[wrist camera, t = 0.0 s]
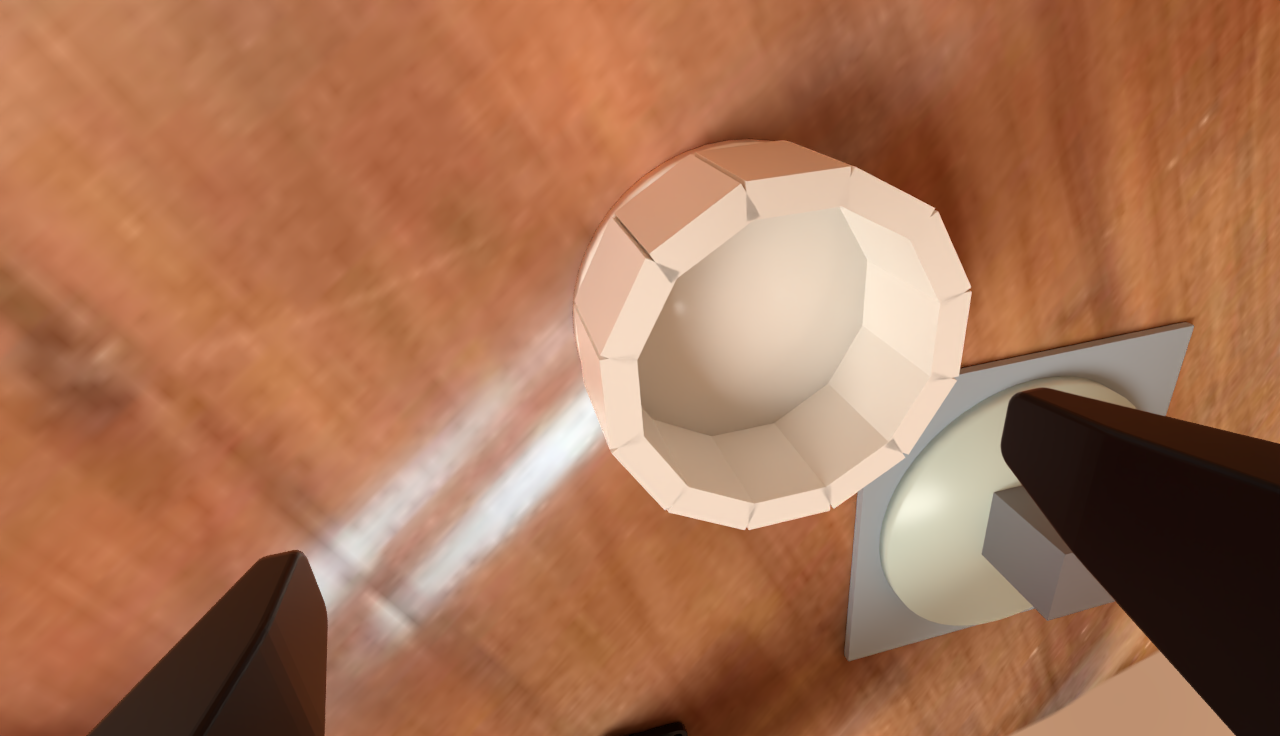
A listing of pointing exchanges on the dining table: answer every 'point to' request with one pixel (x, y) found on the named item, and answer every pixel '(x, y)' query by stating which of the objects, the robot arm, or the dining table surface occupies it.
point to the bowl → (766, 330)
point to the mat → (1119, 363)
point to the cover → (982, 526)
